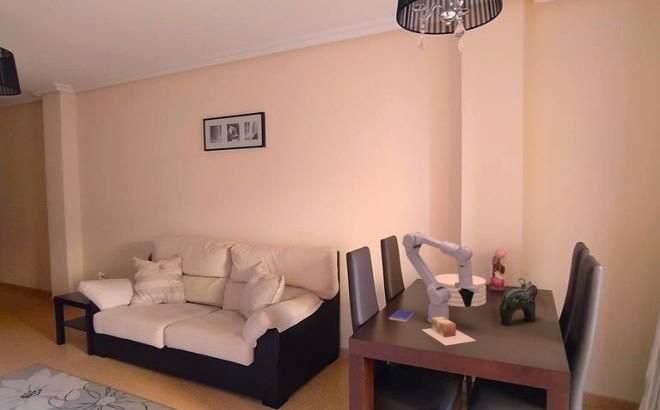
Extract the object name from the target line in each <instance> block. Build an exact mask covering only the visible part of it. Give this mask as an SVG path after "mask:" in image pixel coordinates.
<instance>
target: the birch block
mask: <svg viewBox="0 0 660 410" xmlns="http://www.w3.org/2000/svg"><path fill="white" fill-rule="evenodd" d="M456 324H457V323H454V322H453V321H451V320H447V319H446V318H444V317H442V316H441V317H434V318H432V323H431V328H432V330H434V331H436V332H437V333H439V334H441V335H442V336H444V337H451V336H456V330H457V329H456V327H457V326H456Z"/></svg>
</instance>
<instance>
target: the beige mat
mask: <svg viewBox="0 0 660 410" xmlns="http://www.w3.org/2000/svg"><path fill="white" fill-rule="evenodd" d="M422 332H425V334H427V335H429V336H430V337H431V338H433V339H435V340H436V341H438V342H439V343H441V344H442V345H444V346H450V345H451V346H452V345H457V344H464V343H471V342H476V341H477V340H476V339H474V338H473V337H470V336H469V335H468V334H465V333H464V332H462V331H459V330H458V329H456V336H451V337H444V336H442V335H441V334H439V333H437V332H436V331H434V330H432V327H431V328H430V327H429V328H424V329H422Z"/></svg>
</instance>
